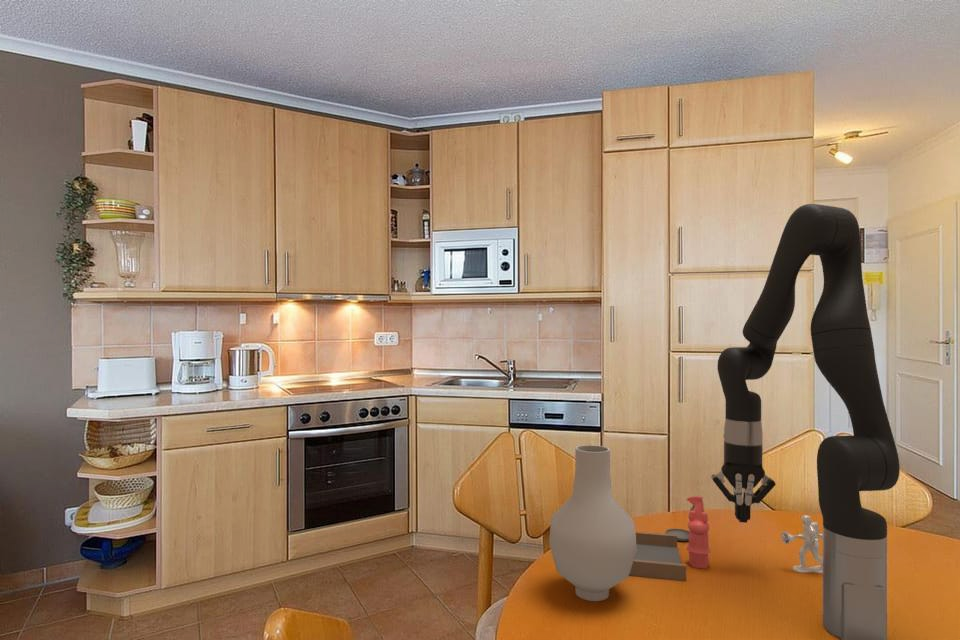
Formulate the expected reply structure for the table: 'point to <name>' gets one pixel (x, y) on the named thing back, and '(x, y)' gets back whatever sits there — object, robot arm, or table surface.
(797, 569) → the figurine
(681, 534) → the pocket watch
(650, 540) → the tray
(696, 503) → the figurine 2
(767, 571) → the table surface
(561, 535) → the vase
